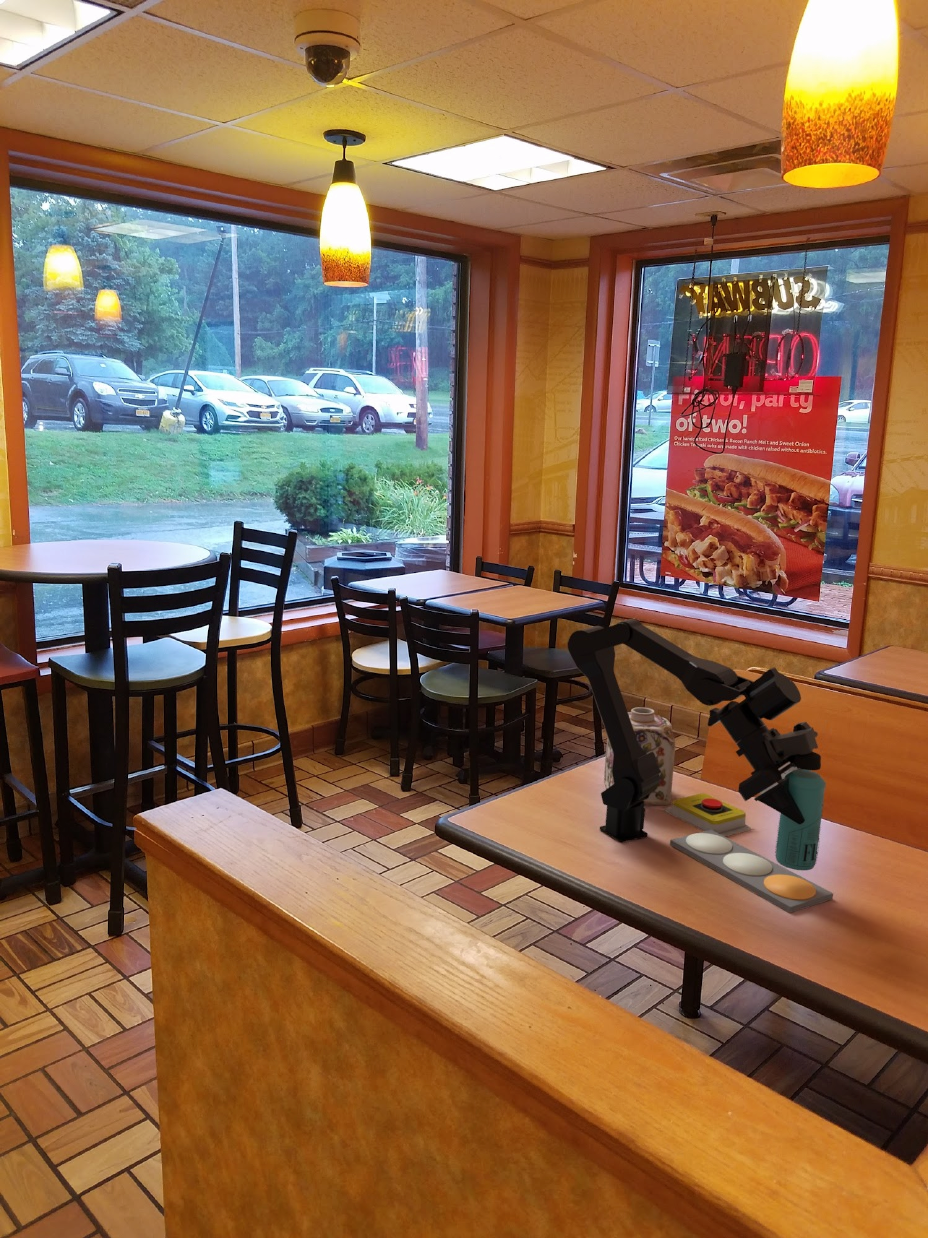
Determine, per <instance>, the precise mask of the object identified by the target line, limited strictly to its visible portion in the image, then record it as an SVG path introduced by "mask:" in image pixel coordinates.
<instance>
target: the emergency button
mask: <svg viewBox="0 0 928 1238" xmlns="http://www.w3.org/2000/svg"><path fill="white" fill-rule="evenodd" d="M663 812H666V813H668V815H671V816H673V817H675V818H677V819H679V820H681V821H683V822H685V823H686V824H689V825H691V826H693V827H695V828H697V829H699V830H701V831H702V832H704V831H708V830H713V831H715V832H717V833H718V834H720V835H722V836H724V837H726V836H727V837H729V836H730V837H731V836H734V835H736V834H737V833H738V834H740V833H739V832H741V833H744V831H745V832H749V831H751V830H752V828H751V827H752V826H750V825H747V824H746V811H744V810H742V809H741V808H738V807H736V806H734V805H731V804H729V803H727V802H725V801H722V800H721V799H718V798H717V797H715V796H712V795H709V794H707V793H703V792H702V793H698V794H693V795H690V796H685V797H681V798H677V799H674V800H673V801H672V806H668V807H664V808H663ZM750 829H751V830H750ZM733 834H734V835H733ZM727 837H726V838H727Z"/></svg>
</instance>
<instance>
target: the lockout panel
mask: <svg viewBox="0 0 928 1238" xmlns="http://www.w3.org/2000/svg"><path fill="white" fill-rule="evenodd" d="M669 845H670V846H671V847H673V848H675V849H677V850H678V851H680V852H681V853H684V854H685V855H687V856H689V857H690V858H692V859H693V860H696V861H697V862H699V863H701V864H703V865H705V866H706V867H708V868H710V869H711V870H713V871H716V872H717V873H719V874H720V875H722V876H724V877H726V878H727V879H730V880H731V881H733V882H735V883H736V884H738V885H740V886H742V887H743V888H745V889H747V890H748V891H750V892H752V893H754V894H756V895H757V896H759V897H761V898H763V899H765V900H766V901H768V902H770V903H772V904H773V905H775V906H776V907H779V908H781V909H782V910H784V911H786V912H787V913H789V914H791V913H793V912H794V913H795V912H796V911H801V910H802V909H805V908H809V907H812V906H815V905H819V904H822V903H825V902H827V901H830V900H834V899H833V897H834V893H833V892H831V891H829V890H828V889H826V888H824V887H822V886H820V885H819V884H817V883H814V882H813V881H811V880H809V879H806V878H805V877H802V876H801V875H799V874H797V873H795V872H793V871H792V870H790V869H789V868H787V867H785V866H783V865H781V864H779V863H776V862H774V861H772V860H770V859H768V858H766V857H765V856H762V855H760V854H759V853H757V852H756V851H753V850H752V849H749V848H747V847H745V846H744V845H742V844H739V843H737V842H736V841H734V840H732V839H730V838H728V837H724V836H722V835H720V834H718V833H717V832H715V831H713V830H708V831H700V832H697V833H692V834H687V835H684V836H679V837H676V838H672V839H670V841H669Z"/></svg>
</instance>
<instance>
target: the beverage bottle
mask: <svg viewBox="0 0 928 1238" xmlns="http://www.w3.org/2000/svg"><path fill="white" fill-rule="evenodd" d="M821 762H822V756H821V755H820V754H819V753H817V752H815V751H813V752H811V753H808V754H804V755H800V754H797V755H795V757H794V761H793V765H794V766H796V767H798V768H801V769H797V770H793V771H791V772H790V773H788V774H787V775H786V776H785V778H784V780H785V779H786V778H788V777H789V788H788V790H789V792H790V794H791V796H792V797H793V799H794V801H795V803H796V804H797V806H798V808H799V810H800V811H801V813H802V815H803V817H804V819H805V822H804V823H802V824H797V823H796V822H794V821H793V820H791V819H789V818H788V817H786V816H784V815H783V814H781V813H779V820H778V827H777V831H776V832H777V837H776V840H775V841H776V842H775V851H774V854H775V859H776V861H777V864H778V865H780V866H782V867H784V868H786V869H789V870H790V869H791V870H793V871H810V870H813V869H815V868H814V867H815V866H816V864H817V862H818V858H817V857H818V854H819V851H818V850H819V848H820V845H819V843H820V835H821V828H822V827H821V822H822V819H823V811H824V803H825V802H824V796H825V789H826V787H827V786H826V780H824V778H823V777H822V776H821V775H820V774H819V773H817V772H815V771H819V770H820V769H821V766H822V763H821ZM803 769H805V770H803Z"/></svg>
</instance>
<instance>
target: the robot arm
mask: <svg viewBox="0 0 928 1238" xmlns="http://www.w3.org/2000/svg"><path fill="white" fill-rule="evenodd" d="M619 645H625V646H626V647H628V648H630V649H632V650H633V651H635V652H636V653H638V654H640V655H641V656H642V657H644V658H646V659H647V660H649V661H651V662H652V663H654V664H655V665H657V666H659V667H660V668H661V669H663V670H665V671H667V672H668V673H670V674H671V675H673V676H675V677H676V678H677V680H679V681H680V682H681V683H682V686H684V688H685V690H686V691H687V692H688V693H689V694H690V695H691V696H693V697H694V698H695V699H696V700H697V701H698V702H699V703H701V704H702V705H705V706H711V707H712V706H716V705H718V704H720V703H723V702H728V703H726V704H725V705H723V706H722V707H721V708H719V707H713V708H711V709H709V717H708V721H707V726H708V727H712V726H715V725H716V724H718V723H720V724H721V725H722V727H723V728H724V729H725V731H727V733H728V734H729V736H730V737H731V738H732V740H733V742H734V743H735V744H736V746H737V747H738V750H736V751H735V753H736V755H737V756H738V758H739V757H741V756H744V757H745V758H746V760H747V762H748V763H749V764H750V766H751V768H752V769H753V771H752V772H750V776H749V777H747V778H746V779H744V780H743V781H741V782H739V784H738V793H739V795H740V796H741V797H742V798H743V800H744V802H747V801H748V800H751V798H753V800H754V801H756V802H757V801H758V802H759V803H762V804H764V805H766V806H768V807H770V808H771V809H773V810H774V811H777V812H779V814H783V815H784V816H786V817H788V818H789V819H791V820H793V821H794V822H796V823H797V824H802V823H804V822H805V819H804V817H803V815H802V813H801V811H800V810H799V808H798V806H797V804H796V803H795V801H794V799H793V797H792V796H791V794H790V792H789V790H788V788H789V777H788V778H786V779H785V780H784V778H785V776H786V775H787V774H788V773H790V772H791V771H793V770H797V769H801V768H798V767H796V766H794V765H793V761H794V757H795V755H797V754H800V755H804V754H808V753H811V752H814V751H813V750H815V749H818V748H819V746H818V743H817V740H816V737H818V735H819V734H818V732H817V731H815V729H814V727H811V725H810V724H808V723H807V721H804V722H803V721H802V722H798V723H796V724H794V725H793V730H792V731H788V732H787V733H783V734H781V733H780V731H778V729H777V728H774V727H772V728H771V729H769V728H768V726H767V725H766V723H765V721H764V720H763V719H765V720H768V721H773V720H775V719H776V718H778V717H779V716H780V715H782V714H783V713H785V712H786V711H788V710H790V709H791V708H792V707H794V706H795V705H797V704H799V703H800V702H801V700H802V696H801V692H800V690H799V689H798V687H797V685H796V683H795V682H794V681H793V680H791V679H790V678H788V677H787V675H785V674H783V673H782V672H781V673H780V672H779V671H778V669H777V668H776V667H771V668H769V669H767V670H766V671H764V673H762V675H761V676H759V677H758V678H757V679H755V680H754V681H753V680H751V679H748V678H747V677H746V678H745V677H742V676H740V675H738V674H737V673H736V671H735V670H733V669H732V668H731V667H729V666H726V665H724V664H721V663H718V662H716V661H713V660H709V659H704V658H701V657H697V656H695V655H693V654H691V653H689V652H688V651H687V650H685V649H683V648H682V647H679V646H678V645H676V644H675V643H673V642H672V641H670V640H668V639H666V638H665V637H664V636H661V635H659V634H658V633H657V632H655V631H654V630H651V629H650V628H648V627H646V626H645V625H644V624H642V622H641V621H639V620H638V619H636V618H629V619H625V620H621V621H619V622H616V624H613V625H610V626H607V627H603V626H600V625H595V626H591V627H585V628H583V629H580V630H575V631H574V632H572V634H571V635H570V636H569V638H568V640H567V645H566V646H567V650H568V653H569V655H570V657H571V660H572V661H573V663H574V665H575V667H576V668H577V669H578V670H579V671H580V672H581V674H583V676H585V677H586V678H587V680H588V682H589V686H590V688H591V691H592V695H593V698H594V700H595V704H596V707H597V709H598V713H599V716H600V718H601V721H602V724H603V726H604V730H605V733H606V736H608V739H609V742H610V745H611V748H612V751H613V764H612V776H613V781H614V784H613V785H612V786H610V787H609V788H606V789H605V790H603V791H602V792H601V793H600V796H601V800H602V804H603V805H604V806H606V813H605V825H601V826H599V831H601V832H602V833H604V834H605V835H608V836H609V837H611V838H612V839H615V840H616V841H618V842H619V843H626V842H629V841H633V840H638V839H642V838H645V837H648V836H649V833H648V832H647V831H645V830H644V828H645V815H646V808H645V804H644V801H643V800H645V799H648V798H649V796H650V794H651V793H652V792H654V791H655V790H656V789H657V788H658V785H659V783H660V775H659V774H660V773H661V770H660V769H659V767H658V765H657V762H656V757H655V754H654V752H650V753H648V754H647V753H646V752H645V751H644V750H643V749H642V748H641V747H640V746H639V744H638V741H637V738H636V735H635V732H634V729H633V726H632V723H631V721H630V718H629V715H628V712H629V711H628V709H627V706H626V704H625V700H624V697H623V693H622V692H621V689H620V686H619V683H618V680H617V677H616V675H615V674H616V673H615V670H614V669H615V660H616V650H615V646H616V647H617V646H619ZM743 696H744V699H743V700H742V701H740V702H738V701H736V700H737V699H739V698H741V697H743ZM803 770H805V769H803ZM758 794H759V795H758ZM755 796H756V797H755Z"/></svg>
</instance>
